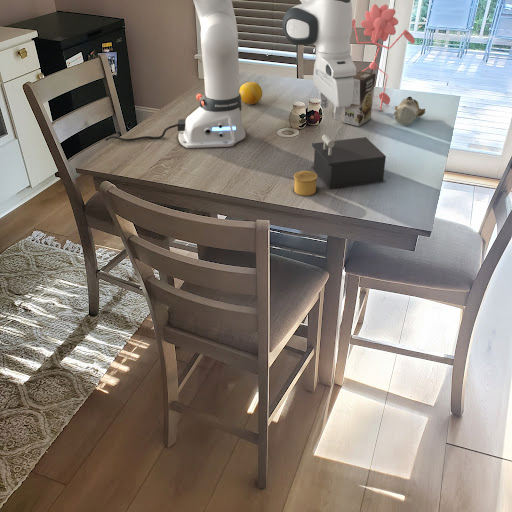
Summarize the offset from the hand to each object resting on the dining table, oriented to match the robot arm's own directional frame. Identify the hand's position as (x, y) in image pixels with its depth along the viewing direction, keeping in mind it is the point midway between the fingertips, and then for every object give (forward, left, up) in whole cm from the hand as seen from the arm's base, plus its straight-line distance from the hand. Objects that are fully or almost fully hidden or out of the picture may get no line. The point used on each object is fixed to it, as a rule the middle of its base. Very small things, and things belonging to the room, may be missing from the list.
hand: (330, 112), depth 151 cm
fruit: (-7, +65, -19) cm, 68 cm away
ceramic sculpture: (+42, +33, -19) cm, 57 cm away
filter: (-9, -7, -19) cm, 22 cm away
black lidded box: (+6, -1, -19) cm, 20 cm away
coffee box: (+25, +37, -19) cm, 49 cm away
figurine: (+37, +52, -19) cm, 67 cm away
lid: (+6, -1, -12) cm, 13 cm away
